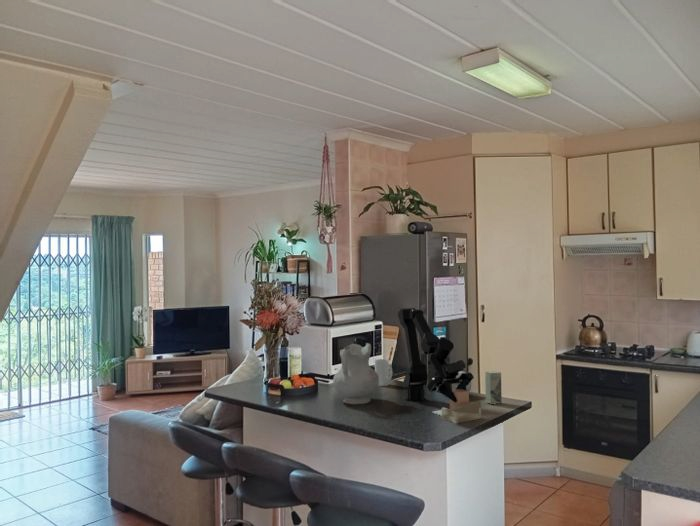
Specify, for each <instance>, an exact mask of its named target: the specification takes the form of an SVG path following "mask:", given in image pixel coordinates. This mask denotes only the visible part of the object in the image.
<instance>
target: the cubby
mask: <svg viewBox="0 0 700 526" xmlns="http://www.w3.org/2000/svg"><path fill="white" fill-rule="evenodd" d="M441 410H442V416H441V419H442V420H444V419H446V420H445V421H447V420H449V421H448V422H450V421H452V422H451V423H453V422H454V424H460V423H459V422H461V423H465V421H466V422H469V421H475V420H480V419H482V402H481V401H479V400H478V401H474V402H469V403H468V404H462V405H457V406H454V410H450V408H447V407H441Z"/></svg>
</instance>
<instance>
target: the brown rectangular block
mask: <svg viewBox="0 0 700 526" xmlns="http://www.w3.org/2000/svg"><path fill="white" fill-rule="evenodd" d="M452 391H453V393H454V395H455V397H456V399H457V402H454V401H452V400H451V399H449V409H450V410H454V406H457V405H462V404H468V403H470V391H466V390H462V389H456V390H452Z"/></svg>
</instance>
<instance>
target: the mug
mask: <svg viewBox="0 0 700 526" xmlns="http://www.w3.org/2000/svg"><path fill="white" fill-rule="evenodd" d="M374 371H376V372H377V374H378V377H379V385H378V387H387V386H389V385H390V383H389V381H391V380H392V377H393V368H392V363H389V359H386V358H378V359H374ZM389 371H390V373H389Z"/></svg>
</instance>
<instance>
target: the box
mask: <svg viewBox="0 0 700 526" xmlns="http://www.w3.org/2000/svg"><path fill="white" fill-rule="evenodd" d="M484 375H485V379H484V380H485V382H484V383H485V385H484V386H485V403H486V402H488V403H491V404H494V403H502V402H503V400H502V399H503V398H502V372H501V371H497V370H488V371H485V372H484ZM488 403H487V404H488ZM494 405H495V404H494Z"/></svg>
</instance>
